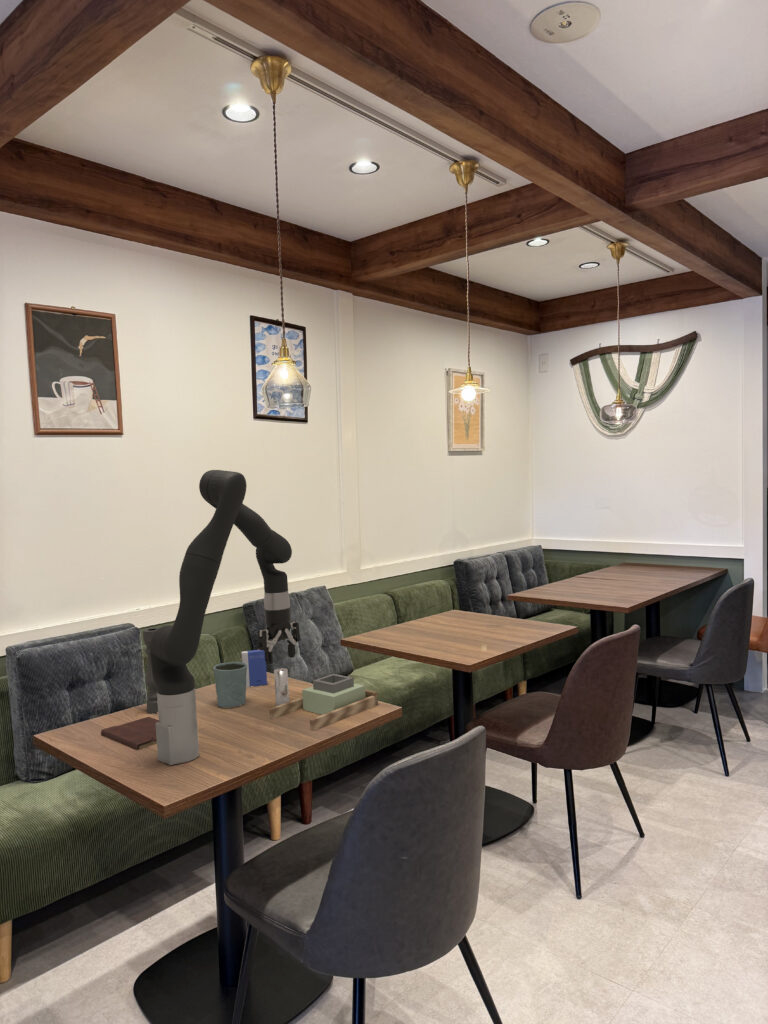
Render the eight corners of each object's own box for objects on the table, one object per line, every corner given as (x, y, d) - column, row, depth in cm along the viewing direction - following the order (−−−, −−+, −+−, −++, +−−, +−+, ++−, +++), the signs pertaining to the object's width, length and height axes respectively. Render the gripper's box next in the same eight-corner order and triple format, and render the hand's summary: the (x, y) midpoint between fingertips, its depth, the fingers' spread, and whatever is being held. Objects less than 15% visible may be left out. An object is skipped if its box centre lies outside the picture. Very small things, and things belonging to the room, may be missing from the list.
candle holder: (154, 714, 220) (149, 632, 218) (142, 711, 223) (137, 630, 222) (172, 708, 224) (166, 628, 223) (159, 705, 228) (154, 626, 227)
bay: (313, 735, 195) (312, 716, 195) (270, 722, 207) (269, 705, 207) (378, 708, 215) (377, 692, 214) (335, 698, 227) (334, 682, 226)
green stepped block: (334, 717, 205) (333, 688, 204) (303, 709, 213) (301, 681, 213) (366, 705, 214) (364, 677, 214) (334, 698, 223) (333, 670, 223)
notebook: (149, 721, 215) (149, 714, 215) (187, 735, 202) (186, 728, 202) (101, 736, 204) (100, 729, 204) (137, 752, 191) (136, 744, 191)
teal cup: (214, 701, 230) (212, 663, 229) (247, 697, 233) (244, 660, 232) (217, 710, 220) (214, 671, 220) (251, 706, 223) (248, 667, 223)
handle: (282, 712, 216) (280, 672, 215) (273, 710, 218) (271, 670, 218) (292, 708, 219) (290, 669, 218) (283, 706, 221) (281, 667, 221)
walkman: (266, 682, 248) (264, 648, 248) (267, 685, 246) (265, 649, 245) (243, 685, 246) (240, 650, 246) (243, 687, 244) (241, 652, 243)
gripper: (266, 612, 209) (270, 667, 210) (303, 603, 220) (306, 656, 221) (250, 609, 214) (253, 664, 215) (287, 601, 225) (290, 653, 226)
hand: (280, 660), depth 218 cm, fingers open, 8 cm apart
